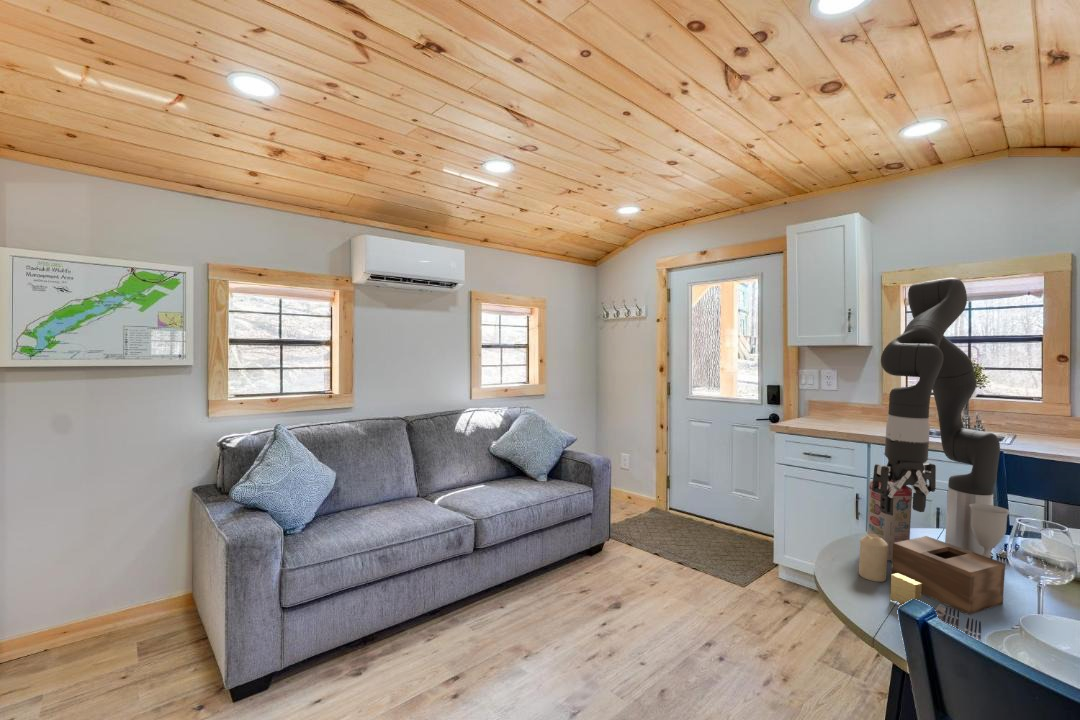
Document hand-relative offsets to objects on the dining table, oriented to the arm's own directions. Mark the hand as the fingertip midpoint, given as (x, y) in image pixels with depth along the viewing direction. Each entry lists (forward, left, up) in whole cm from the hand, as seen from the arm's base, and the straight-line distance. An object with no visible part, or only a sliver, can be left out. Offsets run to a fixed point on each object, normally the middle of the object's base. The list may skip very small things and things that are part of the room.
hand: (902, 512), depth 111 cm
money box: (-15, 0, -20) cm, 25 cm away
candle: (-7, -11, -20) cm, 24 cm away
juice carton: (-22, -18, -20) cm, 35 cm away
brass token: (0, +1, -20) cm, 20 cm away
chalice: (-28, +1, -20) cm, 35 cm away
